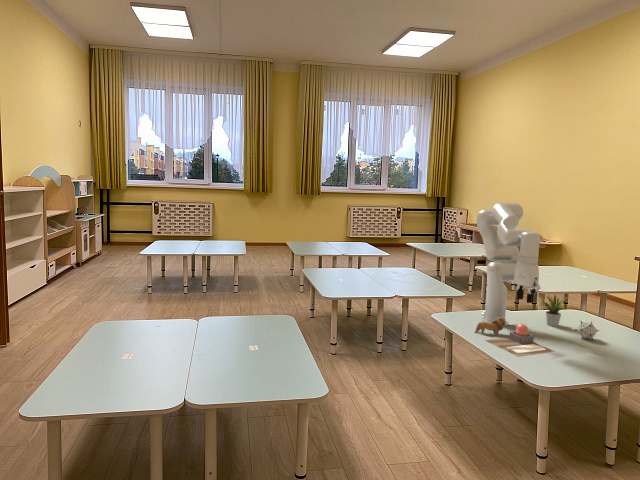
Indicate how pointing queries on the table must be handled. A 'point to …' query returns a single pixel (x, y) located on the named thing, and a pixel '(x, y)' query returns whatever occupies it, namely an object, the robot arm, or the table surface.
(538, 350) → the brown flat square board
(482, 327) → the lion figurine
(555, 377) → the table surface
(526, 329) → the pop dome
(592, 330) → the game die
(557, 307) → the house plant
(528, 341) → the dome housing
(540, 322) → the table surface
